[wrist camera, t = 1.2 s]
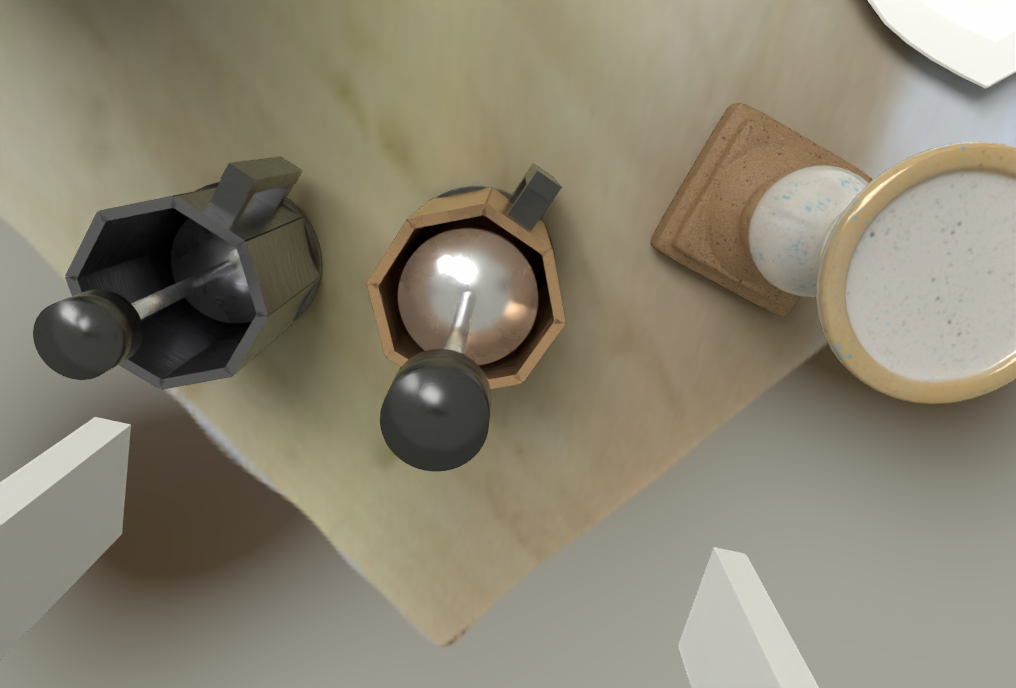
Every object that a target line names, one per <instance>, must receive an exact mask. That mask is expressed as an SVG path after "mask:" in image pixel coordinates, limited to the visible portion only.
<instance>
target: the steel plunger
mask: <svg viewBox="0 0 1016 688" xmlns="http://www.w3.org/2000/svg"><path fill="white" fill-rule="evenodd" d="M171 268H172V273H173V277H174V279H175V282H176V284H174V285H171V286H169V287H167V288H165V289H163V290H160V291H158V292H156V293H154V294H152V295H149V296H147V297H145V298H143V299H141V300H138V301H136V302H134V303H132V304H131V303H130V302H129V301H128V300H127V299H125V298H124V297H122V296H121V295H119V294H117V293H115V292H112V291H108V290H103V289H94V290H89V291H86V292H83V293H80V294H78V295H75V296H72V297H70V298H67V299H64V300H62V301H59V302H57V303H54V304H52V305H50V306H48V307H46V308H45V309H44V310H43V311H42V312H41V313H40V314H39V316H38V317H37V319H36V321H35V325H34V331H33V338H34V343H35V346H36V349H37V351H38V353H39V355H40V357H41V358H42V359H43V361H44V362H45V363H46V364H47V365H48V366H49V367H50V368H51V369H53V370H54V371H55V372H57V373H59V374H61V375H63V376H65V377H68V378H72V379H77V380H86V379H92V378H95V377H98V376H100V375H101V374H103V373H105V372H106V371H108V370H110V369H111V368H113V367H115V366H116V365H118V364H120V363H122V362H123V361H125V360H127V359H128V358H130V357H131V356H133V355H134V354H135V353H136V352H137V350H138V349H139V347H140V345H141V343H142V339H143V324H142V321H141V319H143V318H145V317H147V316H149V315H151V314H153V313H154V312H156V311H158V310H160V309H162V308H164V307H166V306H168V305H170V304H172V303H174V302H176V301H178V300H180V299H182V298H184V297H185V299H186V300H187V301H188V302H189V303H190V304H191V305H192V306H193V307H194V308H196V309H197V310H198V311H200V312H201V313H203V314H204V315H206V316H208V317H210V318H213V319H215V320H218V321H222V322H226V323H247V322H251V321H253V320H254V318H255V316H256V310H255V307H254V304H253V300H252V297H251V294H250V291H249V287H248V284H247V281H246V277H245V274H244V271H243V268H242V264H241V261H240V258H239V254H238V251H237V248H236V247H235V246H233V245H232V244H230V243H229V242H227V241H225V240H224V239H222V238H221V237H219V236H217V235H216V234H214V233H213V232H211V231H210V230H208V229H206V228H205V227H203V226H202V225H200V224H198V223H197V222H195V221H194V220H192V219H190V218H189V219H188V220H187V221H186V222H185V223H184V224H183V225H182V226H181V227H180V229H179V231H178V232H177V234H176V236H175V238H174V241H173V244H172V249H171Z"/></svg>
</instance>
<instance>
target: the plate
mask: <svg viewBox="0 0 1016 688" xmlns="http://www.w3.org/2000/svg"><path fill="white" fill-rule="evenodd" d="M867 1H868V2H869V3H870V5H871V6H872V7H873V9H874V10H875V12H876V13H877V14H878V16H879V17H880V18H881V20H882V21H883V22H884V24H885V25H886V26H887V27H889V28H890V29H891V30H892V31H893V32H894V33H895V34H897V35H898V36H899V37H900V38H901V39H902V40H903V41H905V42H906V43H907V44H908V45H910V46H911V47H913V48H914V49H916V50H917V51H919V52H920V53H922V54H923V55H925V56H926V57H927V58H929V59H930V60H932V61H934V62H936V63H937V64H939V65H941V66H943V67H944V68H946V69H948V70H950V71H952V72H953V73H955V74H957V75H959V76H961V77H963V78H965V79H967V80H969V81H971V82H973V83H975V84H977V85H979V86H981V87H983V88H985V89H986V88H988V87H990V86H992V85H994V84H996V83H997V82H999V81H1001V80H1003V79H1005V78H1006V77H1008V76H1010V75H1012V74H1014V73H1015V72H1016V0H867Z"/></svg>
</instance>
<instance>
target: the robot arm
mask: <svg viewBox="0 0 1016 688" xmlns="http://www.w3.org/2000/svg"><path fill="white" fill-rule="evenodd" d="M130 429H131V425H130V424H126V423H121V422H116V421H111V420H107V419H102V418H97V417H95V418H93V419H92V420H90V421H89V422H87V423H86V424H85V425H83V426H81V427H80V428H78V429H77V430H76V431H74V432H73V433H71V434H70V435H68V436H67V437H66V438H64V439H63V440H61V441H60V442H58V443H57V444H55V445H54V446H53V447H51V448H49V449H48V450H47V451H45V452H44V453H42V454H41V455H39V456H38V457H37V458H35V459H33V460H32V461H31V462H30V463H28V464H26V465H25V466H23V467H22V468H20V469H19V470H18V471H16V472H15V473H13V474H12V475H10V476H9V477H8V478H6V479H5V480H3V481H2V482H0V659H1V658H2V657H3V656H4V655H5V654H6V653H7V652H8V651H9V650H10V649H11V648H12V647H13V646H14V645H15V644H16V643H17V642H18V641H19V640H20V639H21V638H22V637H23V636H24V635H25V633H26V632H28V630H29V629H30V628H31V627H32V626H33V625H34V624H35V623H36V622H37V621H38V620H39V619H40V618H41V617H42V616H43V615H44V614H45V613H46V612H47V611H48V610H49V609H50V608H51V607H52V606H53V605H54V604H55V602H56V601H57V600H58V599H59V598H60V597H61V596H62V595H63V594H64V593H65V592H66V591H67V590H68V589H69V588H70V587H71V586H72V585H73V584H74V583H75V582H76V581H77V580H78V579H79V578H80V577H81V576H82V575H83V574H84V573H85V571H86V570H87V569H88V568H89V567H90V566H91V565H92V564H93V563H94V562H95V561H96V560H97V559H98V558H99V557H100V556H101V555H102V554H103V553H104V552H105V551H106V550H107V549H108V548H109V547H110V546H111V545H112V544H113V543H114V541H115V540H116V539H117V538H118V537H119V536H120V535H121V534H122V525H123V513H124V500H125V489H126V477H127V464H128V453H129V441H130ZM678 648H679V651H680V654H681V657H682V660H683V664H684V667H685V670H686V673H687V676H688V679H689V682H690V685H691V688H819V687H818V685H817V683H816V682H815V680H814V678H813V676H812V674H811V673H810V671H809V669H808V667H807V665H806V663H805V661H804V659H803V658H802V656H801V654H800V652H799V650H798V648H797V647H796V645H795V643H794V641H793V639H792V637H791V636H790V634H789V632H788V630H787V628H786V626H785V625H784V623H783V621H782V620H781V617H780V616H779V614H778V612H777V610H776V608H775V606H774V604H773V603H772V601H771V599H770V597H769V595H768V594H767V592H766V590H765V588H764V586H763V584H762V583H761V581H760V579H759V577H758V575H757V573H756V572H755V570H754V568H753V566H752V564H751V562H750V561H749V559H748V557H747V555H746V554H744V553H739V552H735V551H730V550H725V549H720V548H716V547H714V548H713V550H712V553H711V556H710V558H709V561H708V564H707V567H706V570H705V572H704V575H703V578H702V581H701V583H700V586H699V589H698V592H697V594H696V597H695V600H694V603H693V606H692V608H691V611H690V614H689V617H688V620H687V622H686V625H685V628H684V630H683V633H682V636H681V639H680V642H679V644H678Z"/></svg>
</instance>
